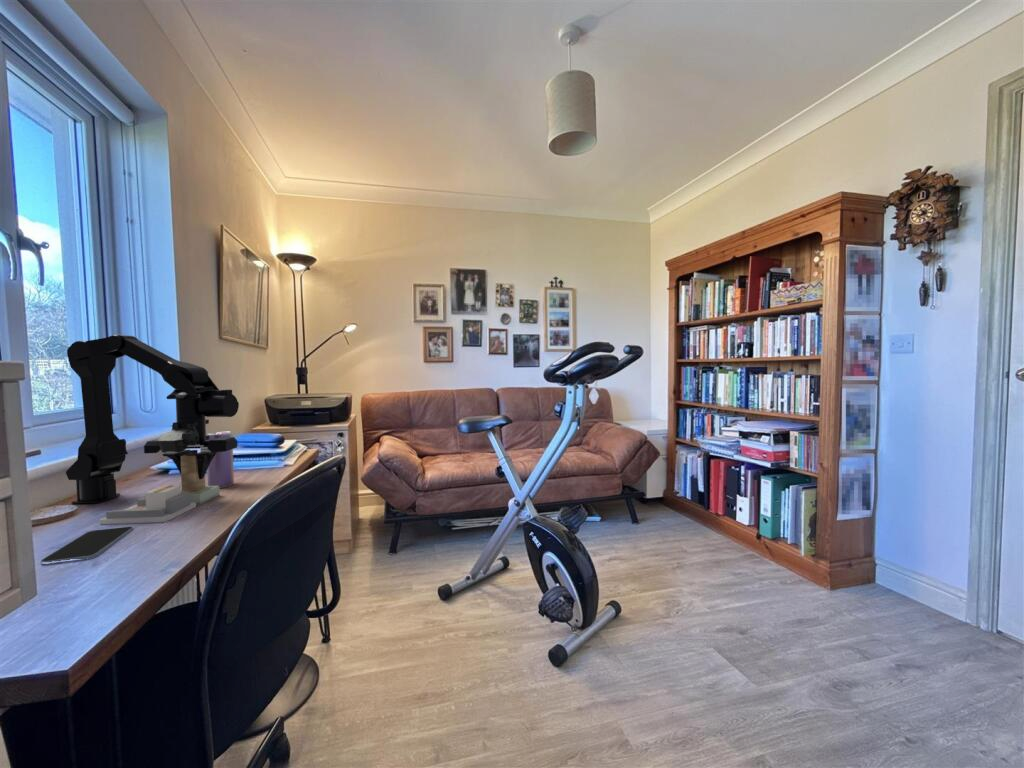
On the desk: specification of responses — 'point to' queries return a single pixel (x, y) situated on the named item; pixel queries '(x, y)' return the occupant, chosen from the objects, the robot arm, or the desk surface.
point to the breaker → (161, 496)
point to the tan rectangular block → (191, 473)
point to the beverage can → (221, 464)
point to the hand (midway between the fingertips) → (193, 479)
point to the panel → (150, 511)
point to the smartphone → (88, 544)
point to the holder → (204, 494)
